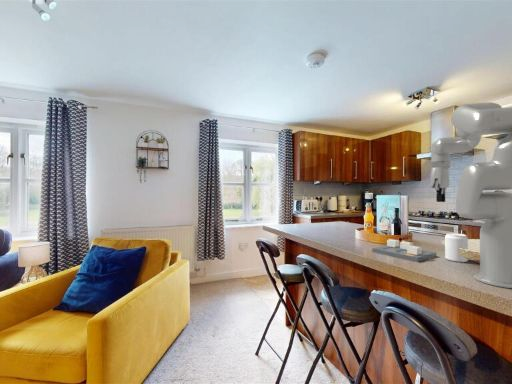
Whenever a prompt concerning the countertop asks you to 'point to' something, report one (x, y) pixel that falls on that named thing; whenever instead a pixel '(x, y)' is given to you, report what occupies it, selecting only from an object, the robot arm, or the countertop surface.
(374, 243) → the countertop surface
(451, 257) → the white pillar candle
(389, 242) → the knob
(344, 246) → the countertop surface
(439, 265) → the countertop surface
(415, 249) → the knob
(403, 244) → the knob
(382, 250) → the switch panel
